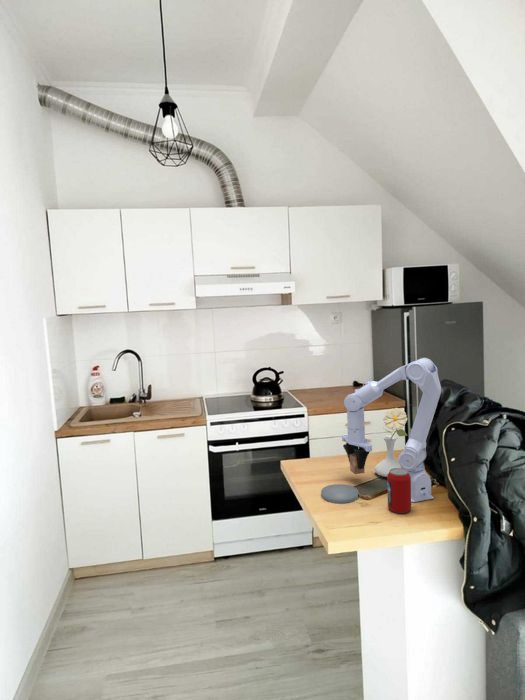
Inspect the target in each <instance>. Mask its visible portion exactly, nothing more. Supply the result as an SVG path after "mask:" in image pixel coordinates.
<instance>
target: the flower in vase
mask: <svg viewBox="0 0 525 700" xmlns="http://www.w3.org/2000/svg"><path fill="white" fill-rule="evenodd" d="M407 416H408V415H407V413H406V412H405V411H404V410H402V409H400V408H398V407H395V408H391V409H389V410H387V411H386V412H385V414H384V416H383V419H382V420H383V421H384V426H385V427H387V428H388V429H391V430H393V431H394V433H392V432H391V430H388V429H386V428H384V430H385V432H387V433H389V434H391V435H384V436H382V439H383V440H384V442H385V445H386V457H385V458H384V459H383V460H382V461H379V463H377V464H376V465H375V467H374V472H375V473H376V474H377V475H378V476H380V477H385V478H387V475H388V473H389V472H390V469H393V468H401V466H400V464H399V461H398V459H397V458H395V455H394V454H395V453H394V452H395V451H394V450H395V449H394V447H395V443H396V441H397V439H398V437H407V436H408V434H407V433H406V431H405V430H404V429H402V428H404V427H405V425H406V423H407V421H408V417H407ZM395 434H397V435H398V436H396V435H395Z"/></svg>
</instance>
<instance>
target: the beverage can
mask: <svg viewBox="0 0 525 700" xmlns="http://www.w3.org/2000/svg"><path fill="white" fill-rule="evenodd" d="M386 478H387V480H386V481H387V482H386V483H387V484H386V485H387V486H386V487H387V508H388V509H389V510H390V511H392V512H394V513H396V514H405V513H408V512H410V511H411V509H412V502H411V477H410V475H409V473H408V471H407V470H406V469H402V468H393V469H390V472H389V473H388V475H387V477H386Z"/></svg>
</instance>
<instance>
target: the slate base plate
mask: <svg viewBox="0 0 525 700" xmlns="http://www.w3.org/2000/svg"><path fill="white" fill-rule="evenodd" d="M320 493H321V498H322V499H323V500H324V501H326V502H328V503H332V504H349V503H353V502H355V500H356V501H357V500H358V499H359V497H358V494H359V489H357V487H354V486H353V485H349V484H342V483H337V484H336V483H335V484H334V483H333V484H330V485H326V486H324V487H322V488H321V490H320ZM359 495H360V494H359Z"/></svg>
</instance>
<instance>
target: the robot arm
mask: <svg viewBox="0 0 525 700" xmlns="http://www.w3.org/2000/svg"><path fill="white" fill-rule="evenodd" d="M408 380H410V381H412V383H413V384H415V385H416V386H417V387H418V388H419V389H420V391H421V392H422V396H421V398H420V400H419V401H420V402H419V405H418V408H417V411H416V415H415V418H414V422H413V424H412V428H411V431H410V433H409V437H408V439H407V442H406V443H405V446H404V448H403V450H402V451H401V452H400V453H399V455H398V458H397V461H399V464H400V466H401V468H402V469H406V470H407V471H408V473H409V475H410V477H411V503H417V502H422V501H428V500H432V499H434V496H433V495H432V479H431V477H430V475H428V474H427V472H426V469H425V463H424V461H425V460H426V458H427V450H426V447H427V437H428V435H429V433H430V428H431V425H432V422H433V419H434V415H435V413H436V409H437V407H438V403H439V400H440V397H441V394H442V385H441V382H440V379H439V373H438V367H437V366H436V365H435V363H434V362H433V361H432V360H431V359H429V358H428V357H421V358H419V359H417V360H414V361H411V362H410V363H407V364H405V365H402V366H400V367H398V368H397V369H395V370H393V371H392V372H390V373H389V374H387V375H386V376H384V377H383V378H381V379H380V380H379V381H376V380H371V381H370V380H368V381H366V382H365V383H364V385H363V386H361V387H360V388H356V389H354V392H353V393H350V394H347V395H346V396H345V398H344V400H343V405H344V407H345V409H346V416H347V417H346V418H347V419H346V421H347V426H346V427H347V434H346V435H342V436H341V441H342V442H345V444H343V446H342V447H343V449H344V450H345V452H346V455H347V458H348V462H349V463H350V454H354V453H355V455H356V458H357V466H358V469H362V468H364V469H365V466H366V461H367V459H368V456H369V454H370V453H371V452H373V445H372V444H370V442H368V438H366V434H365V432H366V430H365V407H366V406H367V405H368V404H370V403H373V402H374V401H375V400H377V399H378V398H380V397H382V396H383V393H384V390H385V389H387V388H389V387H390V386H392V385H394V384H395V383H398V382H399V381H408Z"/></svg>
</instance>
